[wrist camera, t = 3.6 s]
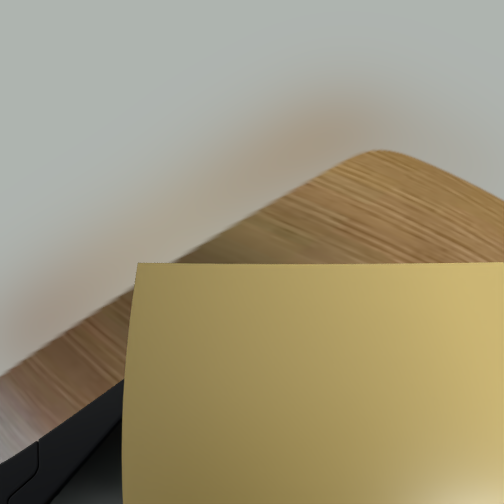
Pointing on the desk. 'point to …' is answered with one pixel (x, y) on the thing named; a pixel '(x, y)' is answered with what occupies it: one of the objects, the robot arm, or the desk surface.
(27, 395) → the desk surface
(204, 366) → the plug block
